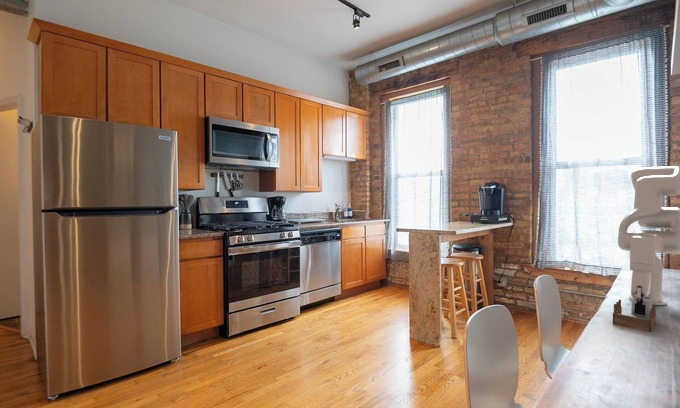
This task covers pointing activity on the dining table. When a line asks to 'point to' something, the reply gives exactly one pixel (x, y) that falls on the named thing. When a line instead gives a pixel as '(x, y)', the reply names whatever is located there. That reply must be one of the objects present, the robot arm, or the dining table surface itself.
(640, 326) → the rack
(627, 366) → the dining table surface
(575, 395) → the dining table surface
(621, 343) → the dining table surface
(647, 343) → the dining table surface
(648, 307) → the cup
